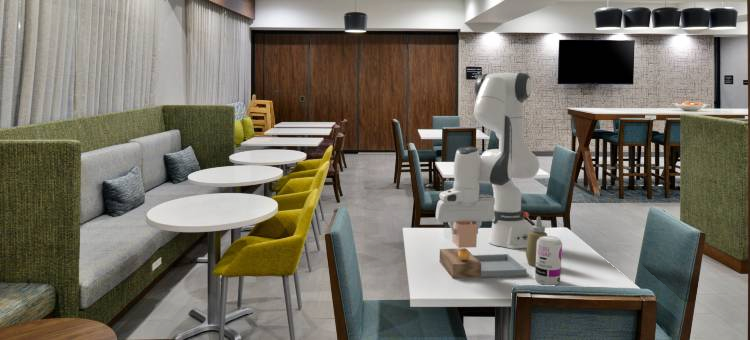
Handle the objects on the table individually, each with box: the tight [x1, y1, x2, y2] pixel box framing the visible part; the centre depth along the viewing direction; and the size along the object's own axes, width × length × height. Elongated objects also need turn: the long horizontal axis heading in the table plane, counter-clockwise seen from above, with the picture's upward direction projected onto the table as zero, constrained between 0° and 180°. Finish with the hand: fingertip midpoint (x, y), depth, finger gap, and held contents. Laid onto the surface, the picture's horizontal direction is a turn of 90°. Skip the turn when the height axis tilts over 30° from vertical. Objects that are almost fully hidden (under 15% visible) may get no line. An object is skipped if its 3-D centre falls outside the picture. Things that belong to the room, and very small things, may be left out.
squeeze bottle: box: [525, 216, 548, 267], centre depth 210 cm, size 8×8×18 cm
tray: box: [472, 253, 527, 279], centre depth 206 cm, size 16×18×2 cm
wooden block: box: [439, 247, 481, 279], centre depth 205 cm, size 10×18×5 cm, turn 8°
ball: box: [458, 248, 471, 260], centre depth 200 cm, size 4×4×4 cm
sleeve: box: [452, 222, 478, 249], centre depth 198 cm, size 6×8×8 cm
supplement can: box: [534, 235, 563, 286], centre depth 192 cm, size 8×8×15 cm
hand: (464, 233), depth 198 cm, fingers closed on sleeve, 6 cm apart
